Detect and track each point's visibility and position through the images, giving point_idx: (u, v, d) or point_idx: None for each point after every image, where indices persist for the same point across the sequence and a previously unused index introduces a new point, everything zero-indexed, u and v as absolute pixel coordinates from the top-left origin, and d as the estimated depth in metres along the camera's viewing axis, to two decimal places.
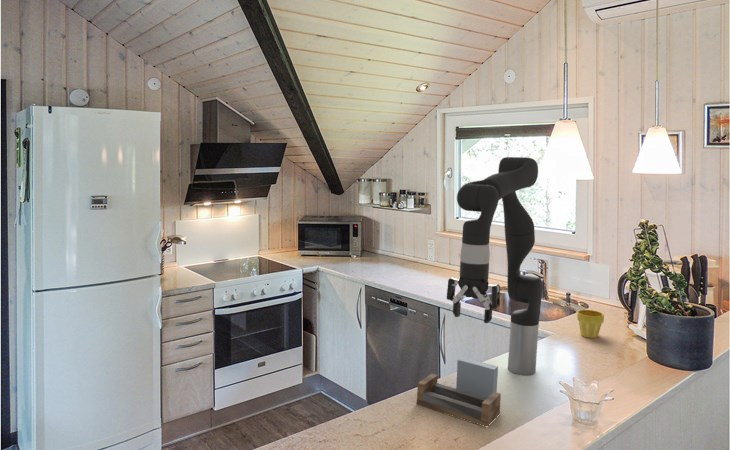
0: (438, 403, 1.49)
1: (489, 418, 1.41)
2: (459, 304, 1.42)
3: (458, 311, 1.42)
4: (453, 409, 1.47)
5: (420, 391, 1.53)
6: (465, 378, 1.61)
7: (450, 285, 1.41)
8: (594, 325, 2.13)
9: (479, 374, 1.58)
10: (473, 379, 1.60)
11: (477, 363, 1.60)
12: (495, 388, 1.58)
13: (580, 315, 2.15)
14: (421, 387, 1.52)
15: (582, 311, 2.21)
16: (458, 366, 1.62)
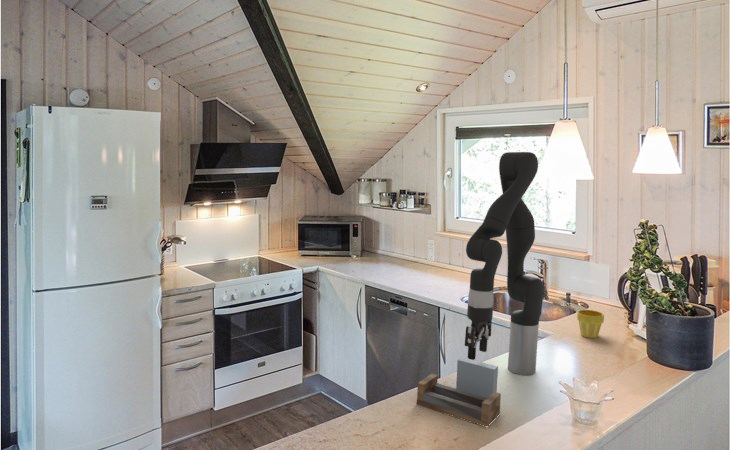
0: (438, 403, 1.49)
1: (489, 418, 1.41)
2: None
3: None
4: (453, 409, 1.47)
5: (420, 391, 1.53)
6: (465, 378, 1.61)
7: (474, 333, 1.53)
8: (594, 325, 2.13)
9: (479, 374, 1.58)
10: (473, 379, 1.60)
11: (477, 363, 1.60)
12: (495, 388, 1.58)
13: (580, 315, 2.15)
14: (421, 387, 1.52)
15: (582, 311, 2.21)
16: (458, 366, 1.62)
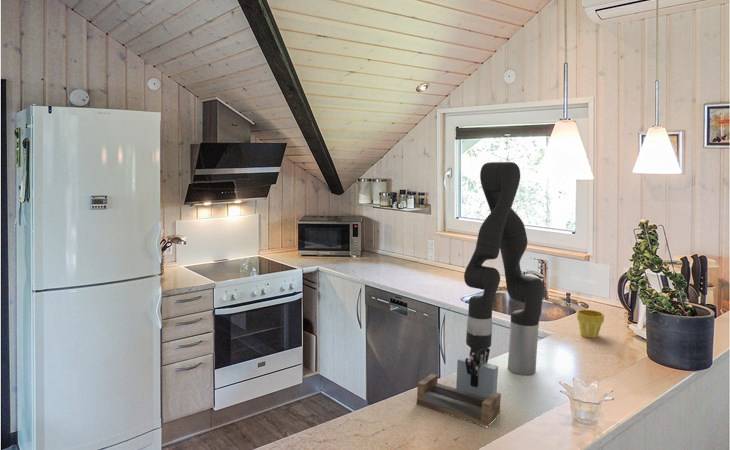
0: (438, 403, 1.49)
1: (489, 418, 1.41)
2: None
3: None
4: (453, 409, 1.47)
5: (420, 391, 1.53)
6: (465, 378, 1.61)
7: (474, 364, 1.55)
8: (594, 325, 2.13)
9: (479, 374, 1.58)
10: None
11: None
12: (495, 388, 1.58)
13: (580, 315, 2.15)
14: (421, 387, 1.52)
15: (582, 311, 2.21)
16: (458, 366, 1.62)
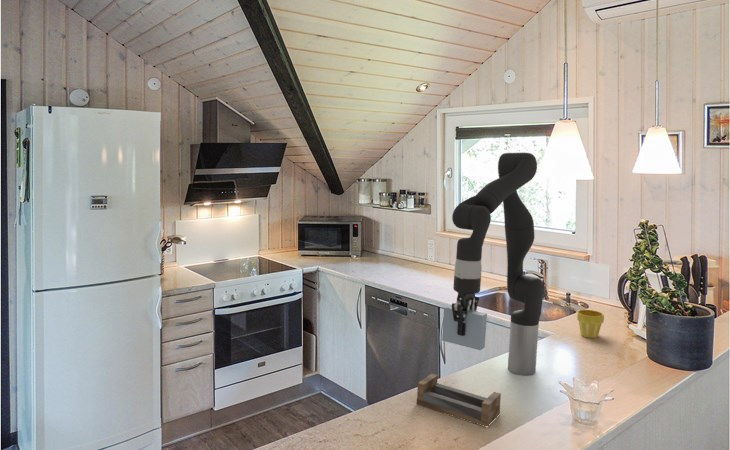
0: (438, 403, 1.49)
1: (489, 418, 1.41)
2: None
3: None
4: (453, 409, 1.47)
5: (420, 391, 1.53)
6: (451, 327, 1.51)
7: (461, 310, 1.44)
8: (594, 325, 2.13)
9: (467, 321, 1.48)
10: None
11: None
12: (483, 337, 1.47)
13: (580, 315, 2.15)
14: (421, 387, 1.52)
15: (582, 311, 2.21)
16: (445, 314, 1.52)
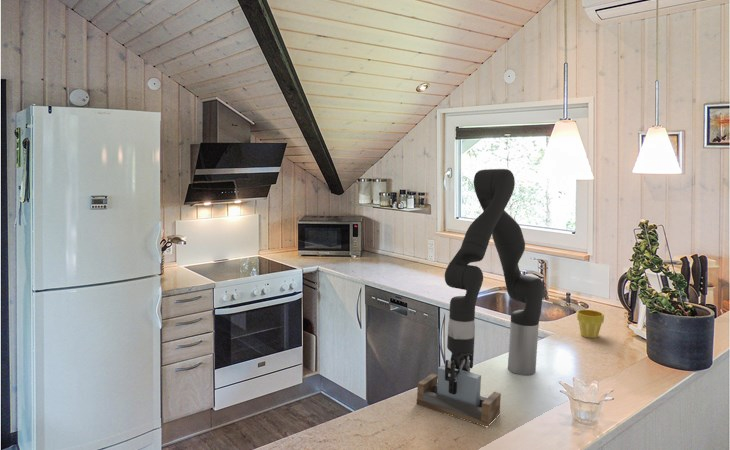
0: (438, 403, 1.49)
1: (489, 418, 1.41)
2: None
3: None
4: (453, 409, 1.47)
5: (420, 391, 1.53)
6: (446, 387, 1.51)
7: (454, 368, 1.43)
8: (594, 325, 2.13)
9: (461, 383, 1.48)
10: None
11: None
12: (478, 398, 1.47)
13: (580, 315, 2.15)
14: (421, 387, 1.52)
15: (582, 311, 2.21)
16: (439, 375, 1.52)
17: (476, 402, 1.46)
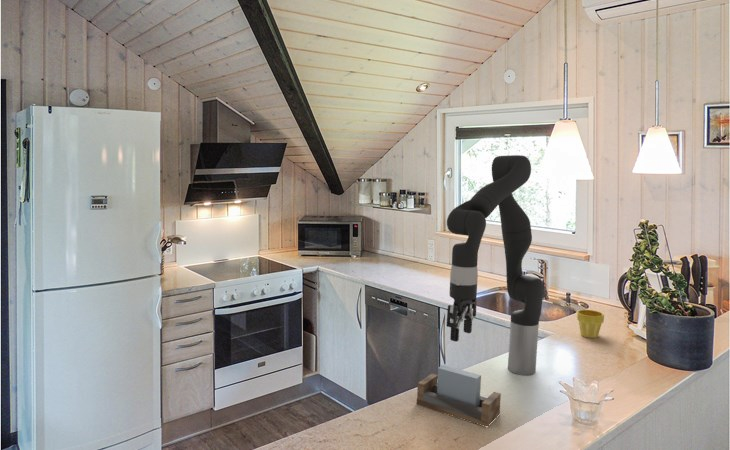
0: (438, 403, 1.49)
1: (489, 418, 1.41)
2: None
3: None
4: (453, 409, 1.47)
5: (420, 391, 1.53)
6: (446, 387, 1.51)
7: (456, 313, 1.41)
8: (594, 325, 2.13)
9: (461, 383, 1.48)
10: (454, 389, 1.49)
11: (459, 372, 1.49)
12: (478, 398, 1.47)
13: (580, 315, 2.15)
14: (421, 387, 1.52)
15: (582, 311, 2.21)
16: (439, 375, 1.52)
17: (476, 402, 1.46)
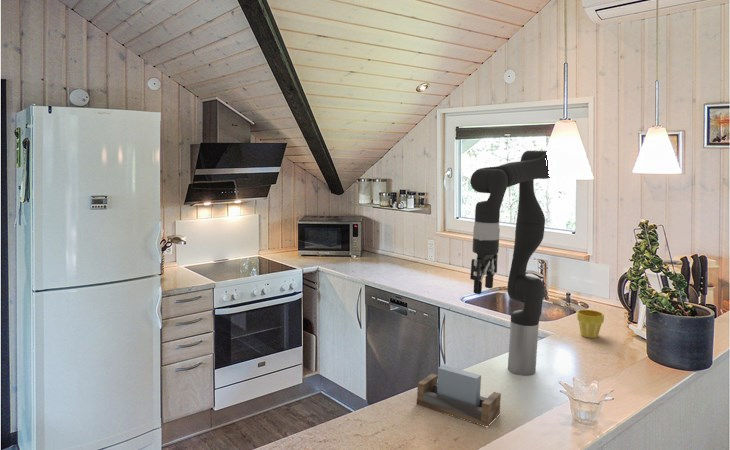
0: (438, 403, 1.49)
1: (489, 418, 1.41)
2: None
3: None
4: (453, 409, 1.47)
5: (420, 391, 1.53)
6: (446, 387, 1.51)
7: (480, 266, 1.49)
8: (594, 325, 2.13)
9: (461, 383, 1.48)
10: (454, 389, 1.49)
11: (459, 372, 1.49)
12: (478, 398, 1.47)
13: (580, 315, 2.15)
14: (421, 387, 1.52)
15: (582, 311, 2.21)
16: (439, 375, 1.52)
17: (476, 402, 1.46)
